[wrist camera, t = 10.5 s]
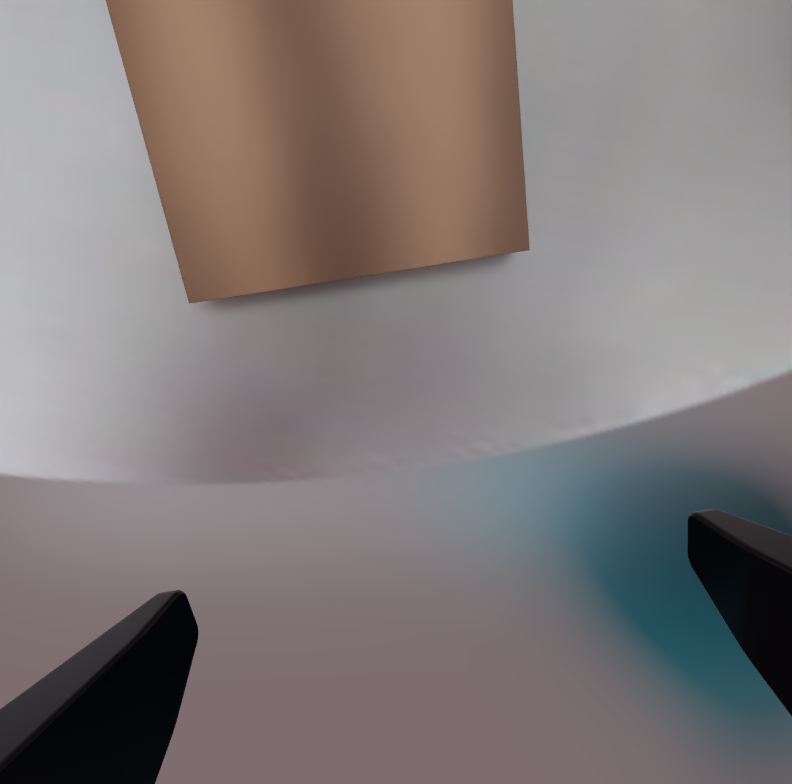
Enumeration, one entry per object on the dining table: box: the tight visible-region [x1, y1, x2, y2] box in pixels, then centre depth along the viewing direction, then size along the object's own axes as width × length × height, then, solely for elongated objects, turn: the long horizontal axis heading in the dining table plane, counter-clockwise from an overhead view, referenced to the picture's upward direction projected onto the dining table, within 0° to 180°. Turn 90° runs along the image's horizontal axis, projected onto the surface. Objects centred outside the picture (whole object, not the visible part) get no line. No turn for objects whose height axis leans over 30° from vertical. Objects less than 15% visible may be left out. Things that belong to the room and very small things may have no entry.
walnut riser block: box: [106, 0, 529, 303], centre depth 17 cm, size 12×12×3 cm
